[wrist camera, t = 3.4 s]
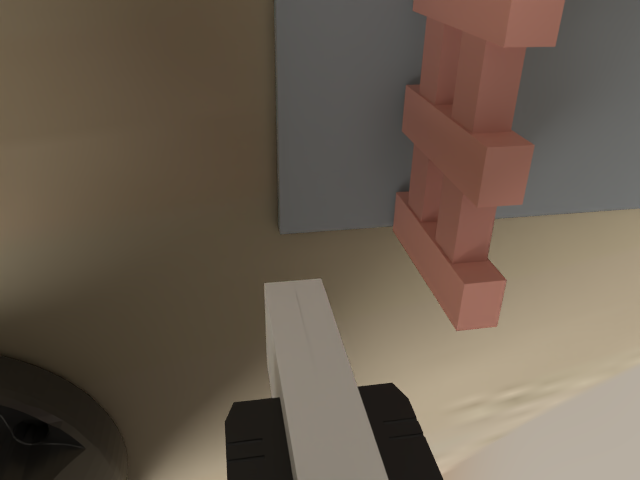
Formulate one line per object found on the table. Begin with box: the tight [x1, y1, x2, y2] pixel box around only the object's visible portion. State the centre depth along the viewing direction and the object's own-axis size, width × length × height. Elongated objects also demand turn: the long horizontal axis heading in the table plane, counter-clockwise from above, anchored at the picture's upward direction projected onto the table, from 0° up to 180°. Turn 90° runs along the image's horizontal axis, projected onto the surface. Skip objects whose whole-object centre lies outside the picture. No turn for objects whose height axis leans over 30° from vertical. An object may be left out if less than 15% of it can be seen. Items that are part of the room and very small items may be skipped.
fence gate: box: [393, 0, 565, 331], centre depth 18 cm, size 13×2×7 cm, turn 179°
